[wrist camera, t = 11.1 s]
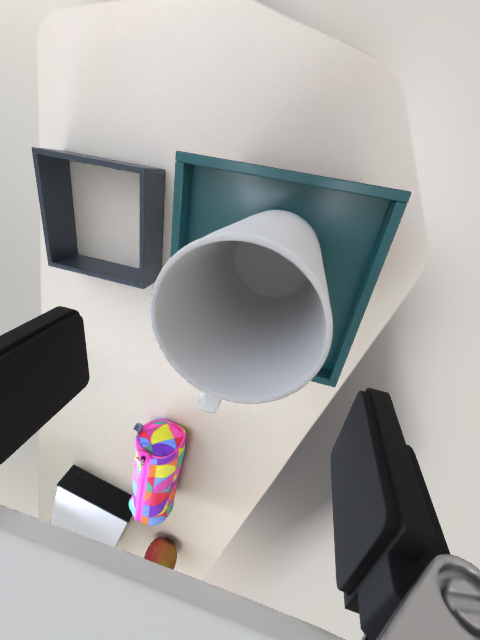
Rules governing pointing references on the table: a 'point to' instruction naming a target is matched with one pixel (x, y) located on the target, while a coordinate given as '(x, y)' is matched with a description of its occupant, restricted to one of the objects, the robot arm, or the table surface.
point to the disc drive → (91, 507)
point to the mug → (245, 310)
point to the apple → (162, 552)
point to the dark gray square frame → (62, 225)
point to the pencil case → (156, 470)
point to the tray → (314, 207)
